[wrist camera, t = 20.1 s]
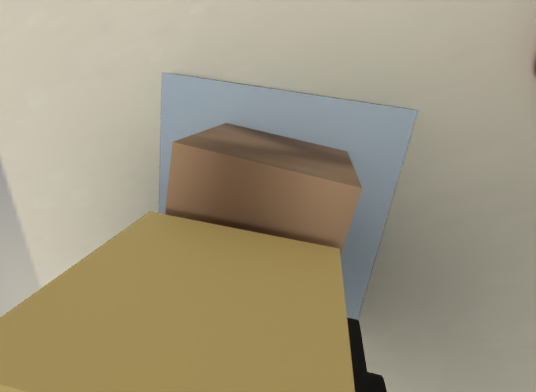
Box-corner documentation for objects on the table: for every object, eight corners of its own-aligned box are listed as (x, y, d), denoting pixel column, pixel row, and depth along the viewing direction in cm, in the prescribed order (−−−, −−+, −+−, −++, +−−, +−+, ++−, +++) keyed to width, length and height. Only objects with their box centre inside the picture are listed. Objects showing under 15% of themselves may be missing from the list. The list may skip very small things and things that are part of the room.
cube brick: (339, 248, 9) (364, 484, 4) (304, 394, 11) (287, 688, 6) (150, 211, 10) (-68, 365, 4) (148, 355, 12) (-2, 586, 6)
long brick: (347, 151, 15) (362, 188, 9) (297, 316, 18) (287, 416, 13) (226, 122, 16) (172, 141, 10) (199, 289, 19) (148, 373, 13)
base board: (410, 109, 15) (418, 110, 14) (346, 338, 20) (347, 353, 19) (172, 73, 16) (161, 72, 15) (165, 297, 21) (156, 308, 20)
